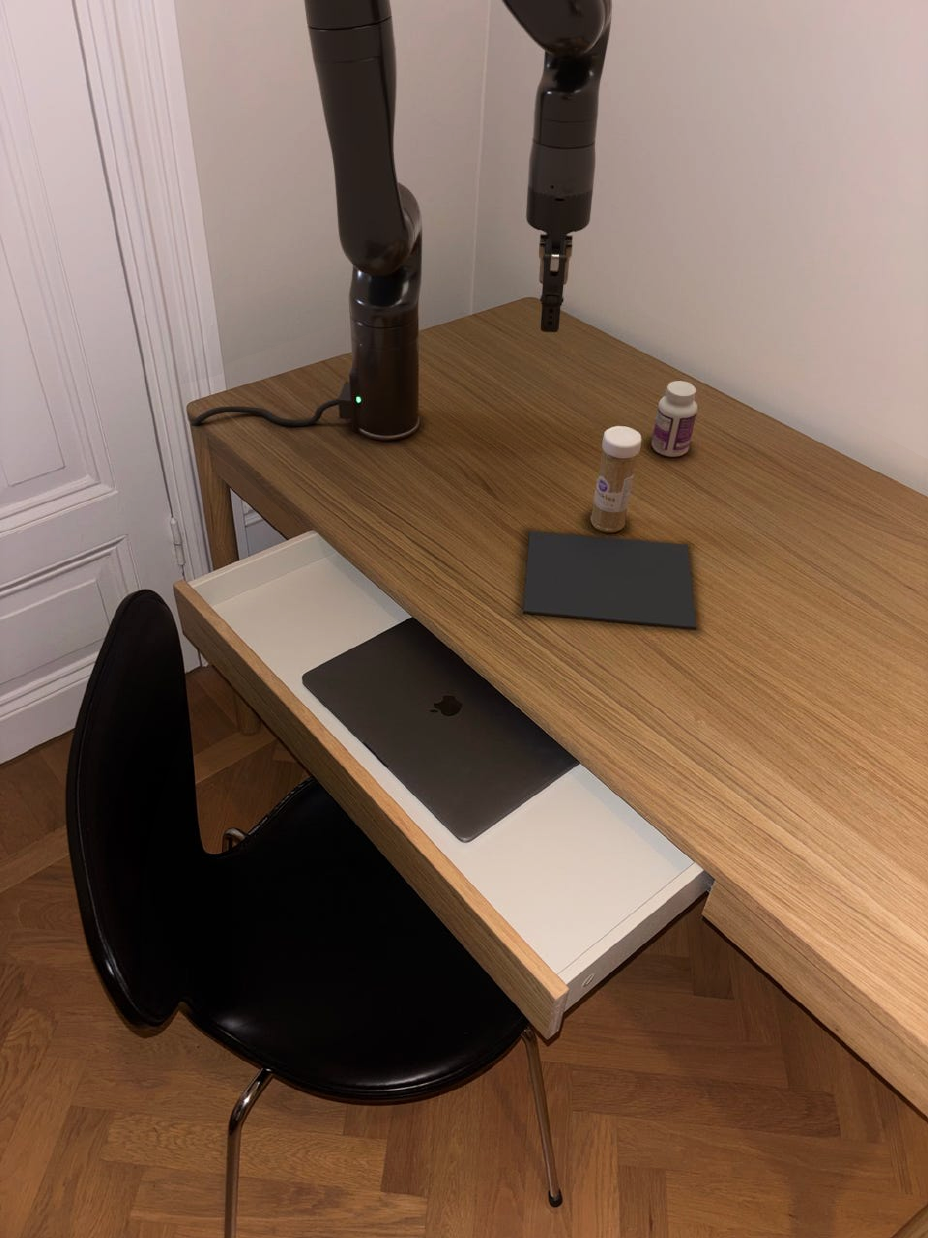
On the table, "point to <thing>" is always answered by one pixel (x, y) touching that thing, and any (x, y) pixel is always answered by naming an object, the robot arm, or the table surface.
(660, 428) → the pill bottle
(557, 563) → the mat
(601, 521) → the sprinkles bottle
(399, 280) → the robot arm
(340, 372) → the table surface
